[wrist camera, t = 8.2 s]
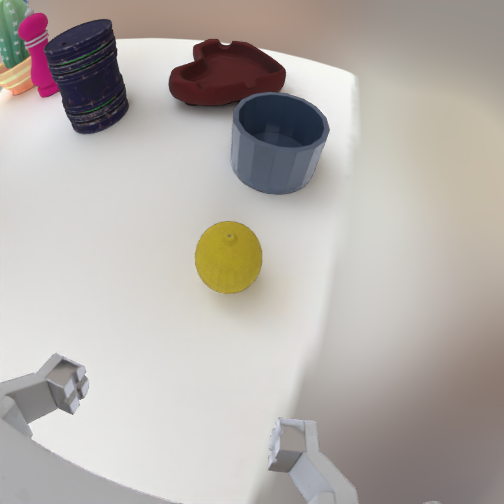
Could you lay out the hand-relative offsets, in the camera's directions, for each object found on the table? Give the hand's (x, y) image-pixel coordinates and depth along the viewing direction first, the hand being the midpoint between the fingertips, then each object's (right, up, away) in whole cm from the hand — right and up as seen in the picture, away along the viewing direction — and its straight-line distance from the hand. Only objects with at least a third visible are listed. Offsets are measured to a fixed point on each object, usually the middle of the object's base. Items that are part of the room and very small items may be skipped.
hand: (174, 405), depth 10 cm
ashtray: (0, +33, +31) cm, 45 cm away
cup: (+6, +17, +24) cm, 30 cm away
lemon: (+1, +4, +18) cm, 18 cm away
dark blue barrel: (-21, +27, +27) cm, 44 cm away
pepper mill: (-37, +39, +31) cm, 62 cm away
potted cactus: (-49, +45, +32) cm, 74 cm away
